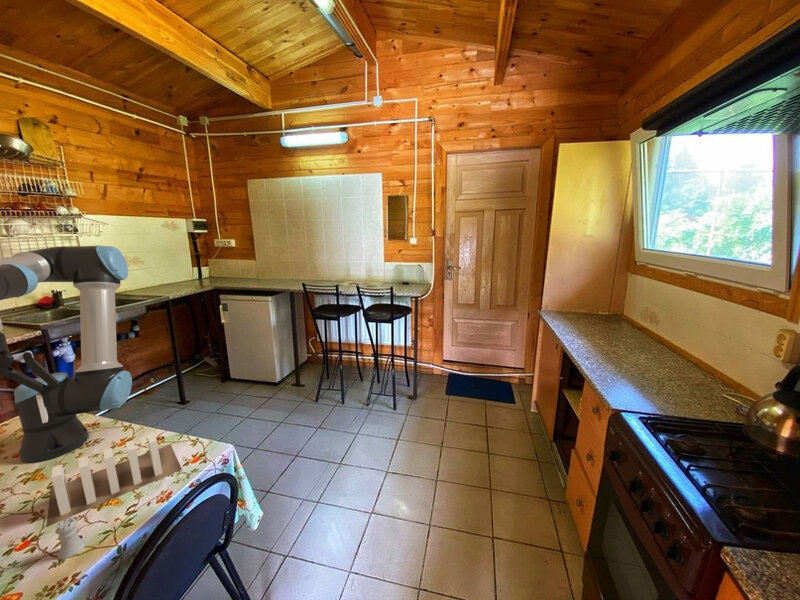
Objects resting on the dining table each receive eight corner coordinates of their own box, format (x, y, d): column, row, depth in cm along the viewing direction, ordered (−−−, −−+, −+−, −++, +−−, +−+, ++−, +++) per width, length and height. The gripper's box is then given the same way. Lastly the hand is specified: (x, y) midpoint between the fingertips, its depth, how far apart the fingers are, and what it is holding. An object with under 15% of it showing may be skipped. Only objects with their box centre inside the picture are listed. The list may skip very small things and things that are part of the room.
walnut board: (47, 532, 74) (46, 526, 73) (51, 493, 85) (50, 488, 85) (182, 474, 91) (182, 469, 91) (171, 448, 103) (170, 444, 102)
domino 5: (155, 476, 88) (149, 443, 87) (152, 467, 92) (146, 435, 90) (162, 473, 90) (156, 440, 88) (159, 464, 93) (153, 432, 91)
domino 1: (60, 515, 76) (51, 478, 74) (61, 503, 80) (52, 467, 78) (70, 511, 77) (61, 474, 75) (70, 499, 81) (62, 464, 79)
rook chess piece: (69, 567, 66) (60, 534, 64) (52, 563, 66) (43, 530, 65) (93, 547, 70) (86, 515, 68) (77, 543, 71) (70, 512, 69)
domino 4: (134, 485, 85) (127, 451, 84) (132, 475, 89) (125, 442, 87) (141, 481, 87) (135, 448, 85) (139, 472, 90) (133, 439, 88)
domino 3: (111, 494, 82) (104, 459, 80) (110, 484, 86) (103, 450, 84) (119, 491, 83) (112, 456, 82) (118, 481, 87) (111, 447, 85)
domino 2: (87, 504, 79) (78, 468, 77) (86, 493, 83) (78, 458, 81) (96, 501, 80) (88, 465, 78) (95, 490, 84) (87, 455, 82)
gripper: (-147, 356, 55) (-108, 469, 59) (61, 327, 72) (80, 416, 76) (-128, 346, 60) (-93, 450, 64) (61, 321, 77) (80, 405, 81)
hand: (1, 432), depth 70 cm, fingers open, 12 cm apart
